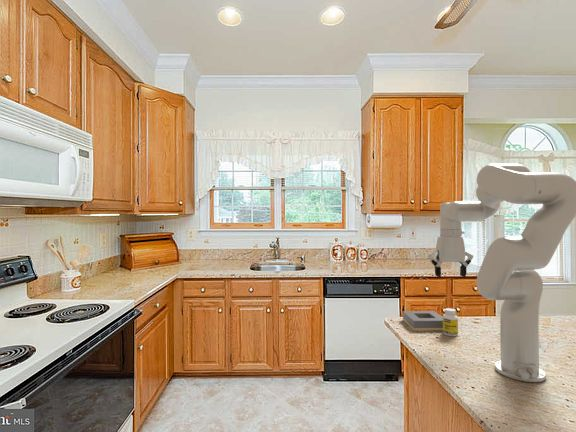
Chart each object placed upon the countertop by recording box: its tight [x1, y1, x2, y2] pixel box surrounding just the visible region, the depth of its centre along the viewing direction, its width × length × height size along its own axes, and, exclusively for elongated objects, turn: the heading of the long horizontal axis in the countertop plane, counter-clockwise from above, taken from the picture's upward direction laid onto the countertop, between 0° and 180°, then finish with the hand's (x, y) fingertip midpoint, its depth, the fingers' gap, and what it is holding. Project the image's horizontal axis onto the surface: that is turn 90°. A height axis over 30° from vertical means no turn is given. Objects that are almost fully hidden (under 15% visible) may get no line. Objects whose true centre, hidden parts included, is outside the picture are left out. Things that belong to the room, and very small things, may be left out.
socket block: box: [402, 310, 443, 332], centre depth 146 cm, size 14×14×4 cm
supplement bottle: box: [442, 307, 459, 337], centre depth 134 cm, size 5×5×10 cm
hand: (450, 276), depth 134 cm, fingers open, 9 cm apart
